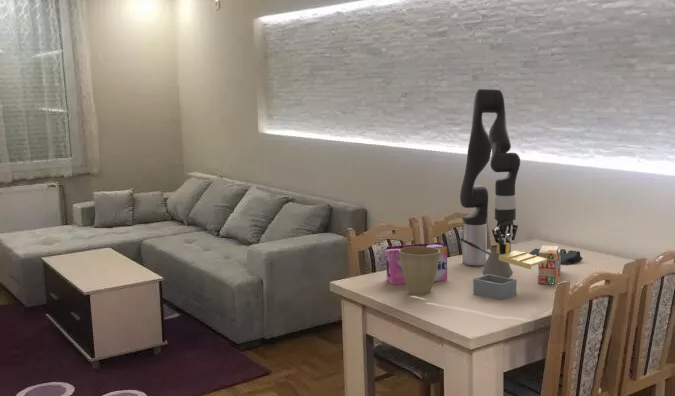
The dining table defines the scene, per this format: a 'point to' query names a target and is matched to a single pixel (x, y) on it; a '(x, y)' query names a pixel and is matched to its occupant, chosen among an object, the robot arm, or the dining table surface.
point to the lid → (519, 257)
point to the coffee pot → (493, 262)
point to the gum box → (396, 270)
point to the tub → (494, 286)
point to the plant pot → (419, 268)
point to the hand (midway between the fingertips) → (505, 253)
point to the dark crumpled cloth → (564, 256)
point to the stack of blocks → (549, 264)
